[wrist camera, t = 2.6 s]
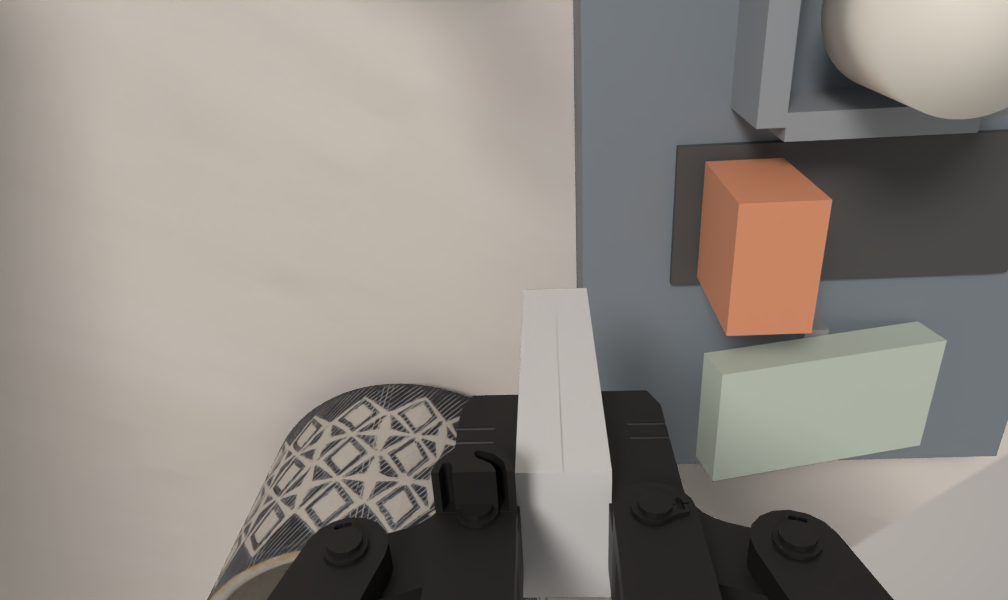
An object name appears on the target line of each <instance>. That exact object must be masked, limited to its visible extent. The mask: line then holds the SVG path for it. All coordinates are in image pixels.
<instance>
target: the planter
mask: <svg viewBox="0 0 1008 600" xmlns="http://www.w3.org/2000/svg"><path fill="white" fill-rule="evenodd" d="M469 400H470V399H468V398H466V397H463V396H461V395H458V394H455V393H452V392H449V391H446V390H442V389H438V388H434V387H428V386H422V385H413V384H384V385H375V386H369V387H364V388H360V389H356V390H352V391H349V392H346V393H343V394H341V395H339V396H336V397H334V398H332V399H330V400H328V401H326V402H324V403H323V404H321V405H319V406H318V407H316V408H315V409H314V410H312V411H311V412H309V413H308V414H307V415H306V416H305V417H304V418H303V419H301V420H300V422H299V423H298V424H297V425H296V426H295V427H294V428H293V429H292V431H291V432H290V433H289V435H288V436H287V438H286V439H285V441H284V443H283V445H282V447H281V449H280V451H279V453H278V455H277V457H276V459H275V461H274V463H273V465H272V467H271V469H270V471H269V473H268V476H267V478H266V480H265V482H264V484H263V486H262V488H261V490H260V492H259V494H258V496H257V498H256V500H255V502H254V504H253V506H252V509H251V511H250V513H249V515H248V517H247V519H246V521H245V523H244V525H243V527H242V529H241V531H240V533H239V535H238V537H237V539H236V542H235V544H234V546H233V548H232V550H231V552H230V554H229V556H228V558H227V560H226V562H225V564H224V566H223V568H222V570H221V573H220V575H219V577H218V579H217V581H216V583H215V585H214V587H213V589H212V591H211V593H210V595H209V597H208V599H207V600H267V598H268V597H269V596H270V594H271V593H272V591H273V590H274V588H275V587H276V586H277V584H278V583H279V581H280V580H281V578H282V577H283V576H284V574H285V573H286V571H287V570H288V568H289V567H290V566H291V564H292V563H293V561H294V560H295V558H296V557H297V556H298V554H299V553H300V551H301V550H302V549H303V547H304V546H305V544H306V543H307V541H308V540H309V539H310V538H311V537H312V536H313V535H314V534H315V533H316V532H317V531H318V530H319V529H321V528H323V527H325V526H326V525H328V524H330V523H332V522H334V521H338V520H341V519H345V518H349V517H352V518H367V519H370V520H372V521H375V522H378V523H379V524H380V525H381V526H382V527H383V528H384V529H385V530H386V533H391V532H394V531H398V530H402V529H406V528H409V527H412V526H414V525H417V524H420V523H421V522H423V521H425V520H427V519H428V518H430V517H431V516H432V515H433V514H435V513H436V511H435V503H434V496H433V488H432V480H431V471H432V469H433V467H434V465H435V463H436V462H437V461H438V460H439V459H440V458H441V457H443V456H444V455H445V454H446V453H449V452H451V451H454V447H455V445H456V436H457V431H458V424H459V418H460V412H461V410H462V409H463V407H464V406H465V405H466V404H467V403H468V401H469ZM523 600H548V597H533V598H523Z"/></svg>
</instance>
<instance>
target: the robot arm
mask: <svg viewBox="0 0 1008 600" xmlns="http://www.w3.org/2000/svg"><path fill="white" fill-rule="evenodd" d="M431 480H432V488H433V496H434V503H435V511H436V513H435V514H433V515H432V516H431V517H430V518H428V519H427V520H425V521H423V522H421V523H420V524H417V525H414V526H412V527H409V528H406V529H402V530H398V531H394V532H391V533H386V530H385V529H384V528H383V527H382V526H381V525H380V524H379V523H378V522H375V521H372V520H370V519H367V518H352V517H349V518H345V519H341V520H338V521H334V522H332V523H330V524H328V525H326V526H325V527H323V528H321V529H319V530H318V531H317V532H316V533H315V534H314V535H313V536H312V537H311V538H310V539H309V540H308V541H307V543H306V544H305V546H304V547H303V549H302V550H301V551H300V553H299V554H298V556H297V557H296V558H295V560H294V561H293V563H292V564H291V566H290V567H289V568H288V570H287V571H286V573H285V574H284V576H283V577H282V578H281V580H280V581H279V583H278V584H277V586H276V587H275V588H274V590H273V591H272V593H271V594H270V596H269V597H268V598H267V600H523V598H533V597H610V590H611V599H612V600H893V598H892V597H891V596H890V595H889V594H888V593H887V591H886V590H885V589H884V588H883V587H882V585H881V584H880V583H879V582H878V581H877V580H876V578H874V576H873V575H872V574H871V572H870V571H869V570H868V569H867V568H866V567H865V565H864V564H863V563H862V562H861V561H860V559H859V558H858V557H857V556H856V555H855V554H854V552H853V551H852V550H851V549H850V548H849V546H848V545H847V544H846V543H845V542H844V541H843V539H842V538H841V537H840V536H839V535H838V533H836V532H835V531H834V530H833V529H832V528H831V527H830V526H828V525H827V524H826V523H825V522H823V521H821V520H819V519H817V518H815V517H813V516H811V515H809V514H806V513H801V512H796V511H792V510H779V511H771V512H769V513H766V514H764V515H761V516H759V517H758V519H757V520H756V521H755V522H754V523H753V524H752V526H751V528H749V527H745V526H740V525H736V524H732V523H727V522H724V521H721V520H718V519H715V518H713V517H711V516H709V515H707V514H705V513H703V512H702V511H700V510H699V509H698V508H697V507H696V506H695V504H694V502H693V501H692V499H691V498H690V497H689V496H688V495H686V494H685V492H684V490H683V487H682V483H681V479H680V475H679V472H678V468H677V464H676V460H675V456H674V453H673V449H672V445H671V441H670V439H669V434H668V430H667V426H666V425H665V419H664V415H663V411H662V407H661V404H660V403H659V402H658V401H657V400H656V399H655V398H654V397H653V396H652V395H651V394H650V393H649V392H648V391H647V390H629V391H601V388H600V381H599V374H598V367H597V359H596V352H595V345H594V338H593V331H592V323H591V316H590V309H589V302H588V295H587V288H569V289H538V290H523V307H522V329H521V351H520V373H519V395H485V396H473V397H472V398H471V399H470V400H469V401H468V403H467V404H466V405H465V406H464V407H463V409H462V410H461V412H460V418H459V424H458V431H457V436H456V445H455V447H454V451H451V452H449V453H446V454H445V455H444V456H443V457H441V458H440V459H439V460H438V461H437V462H436V463H435V465H434V467H433V469H432V471H431Z"/></svg>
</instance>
